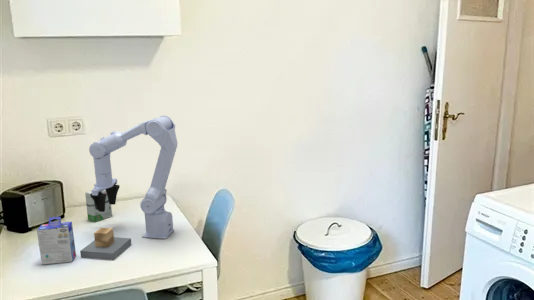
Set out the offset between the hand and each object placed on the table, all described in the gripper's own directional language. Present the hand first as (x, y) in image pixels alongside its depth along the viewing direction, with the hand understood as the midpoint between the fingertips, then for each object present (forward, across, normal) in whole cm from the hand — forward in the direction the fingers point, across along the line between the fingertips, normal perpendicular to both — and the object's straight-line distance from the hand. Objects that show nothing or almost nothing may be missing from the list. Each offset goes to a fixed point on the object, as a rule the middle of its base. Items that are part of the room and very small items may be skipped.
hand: (107, 207), depth 174 cm
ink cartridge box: (+10, +24, -4) cm, 27 cm away
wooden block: (+7, +16, +8) cm, 19 cm away
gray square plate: (+10, +16, +8) cm, 20 cm away
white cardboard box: (+10, -12, -11) cm, 19 cm away
